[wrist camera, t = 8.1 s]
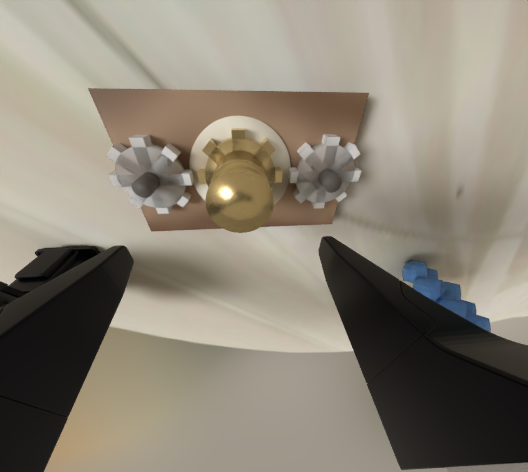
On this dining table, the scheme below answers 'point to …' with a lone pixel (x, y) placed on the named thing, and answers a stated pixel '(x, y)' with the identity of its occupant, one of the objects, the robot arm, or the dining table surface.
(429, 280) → the grapes
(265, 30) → the dining table surface
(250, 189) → the brass gear
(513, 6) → the dining table surface
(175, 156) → the gear board
